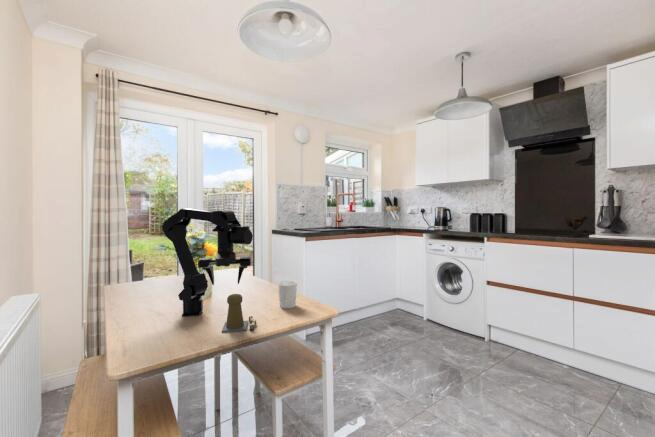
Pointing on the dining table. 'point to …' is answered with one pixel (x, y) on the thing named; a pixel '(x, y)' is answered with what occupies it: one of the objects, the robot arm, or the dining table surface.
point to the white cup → (287, 294)
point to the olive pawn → (234, 312)
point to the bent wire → (252, 323)
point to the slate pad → (235, 329)
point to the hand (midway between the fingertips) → (225, 284)
